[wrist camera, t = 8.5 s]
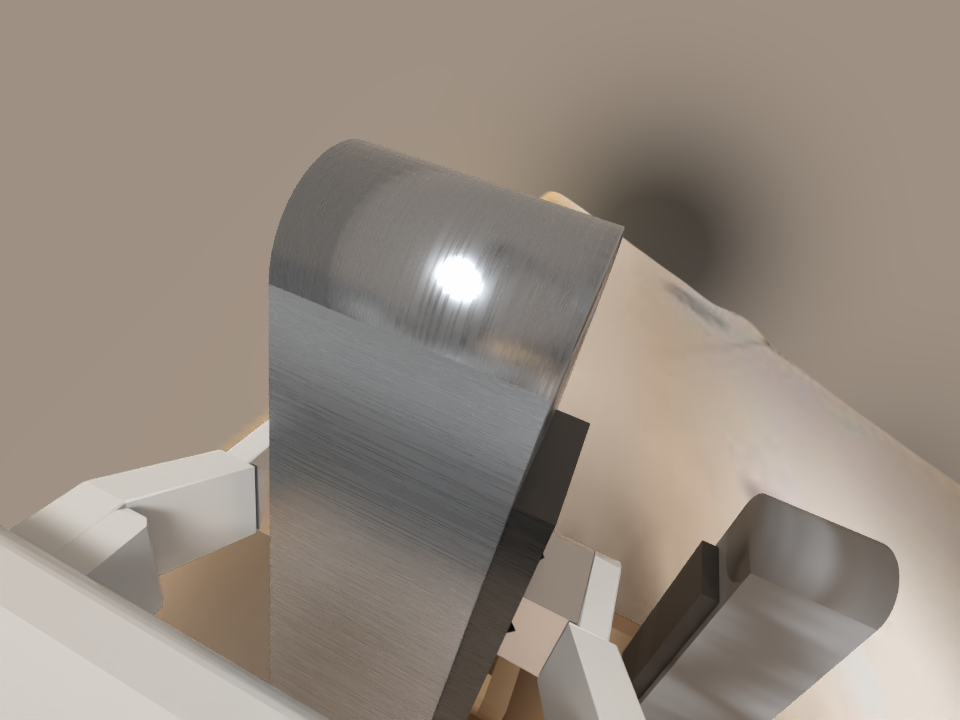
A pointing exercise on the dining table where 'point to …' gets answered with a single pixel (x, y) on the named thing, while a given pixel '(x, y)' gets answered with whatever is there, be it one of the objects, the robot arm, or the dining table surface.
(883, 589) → the twin post stand
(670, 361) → the dining table surface
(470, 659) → the grey tall block
